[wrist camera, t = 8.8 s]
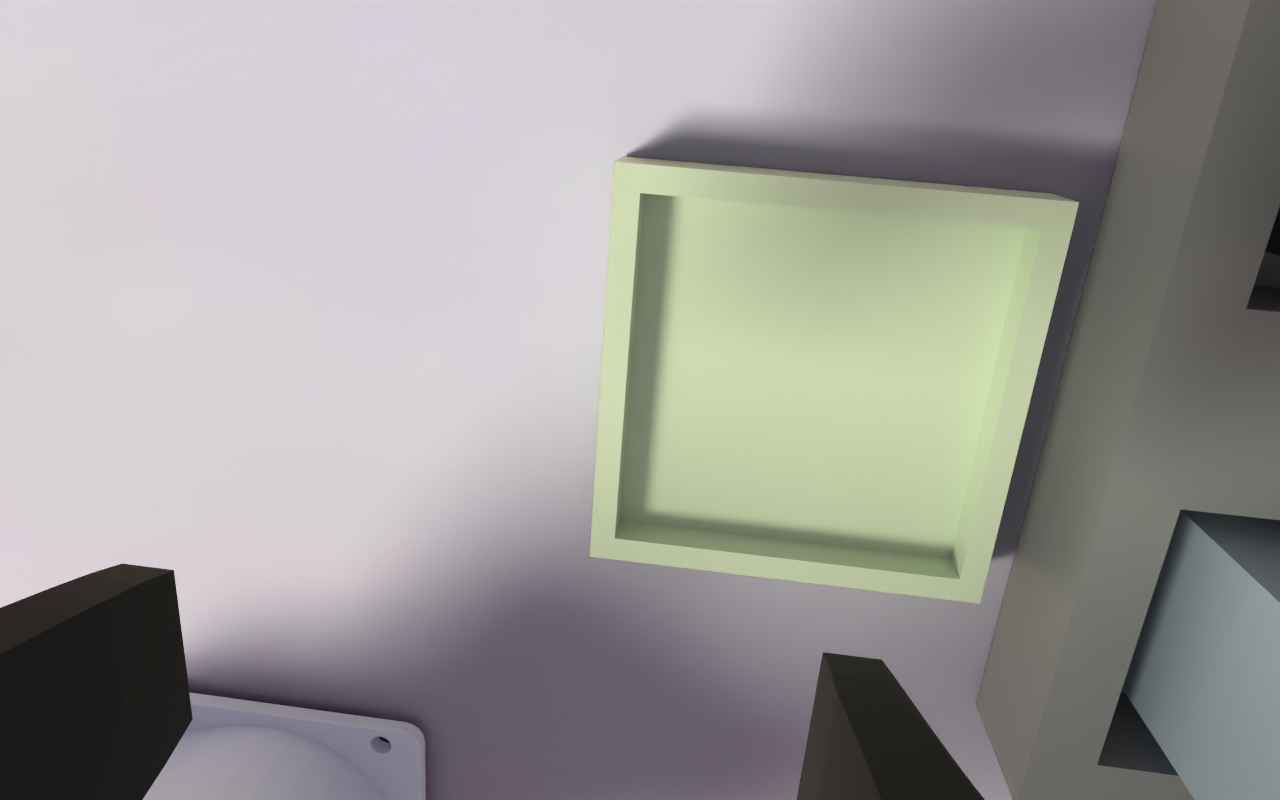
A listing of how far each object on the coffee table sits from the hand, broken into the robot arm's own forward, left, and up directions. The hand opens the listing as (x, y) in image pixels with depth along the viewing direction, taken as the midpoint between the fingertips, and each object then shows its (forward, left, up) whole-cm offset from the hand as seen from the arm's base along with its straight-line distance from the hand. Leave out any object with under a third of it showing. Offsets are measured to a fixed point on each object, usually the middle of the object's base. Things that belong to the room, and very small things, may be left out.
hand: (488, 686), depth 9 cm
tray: (+4, +1, -9) cm, 10 cm away
